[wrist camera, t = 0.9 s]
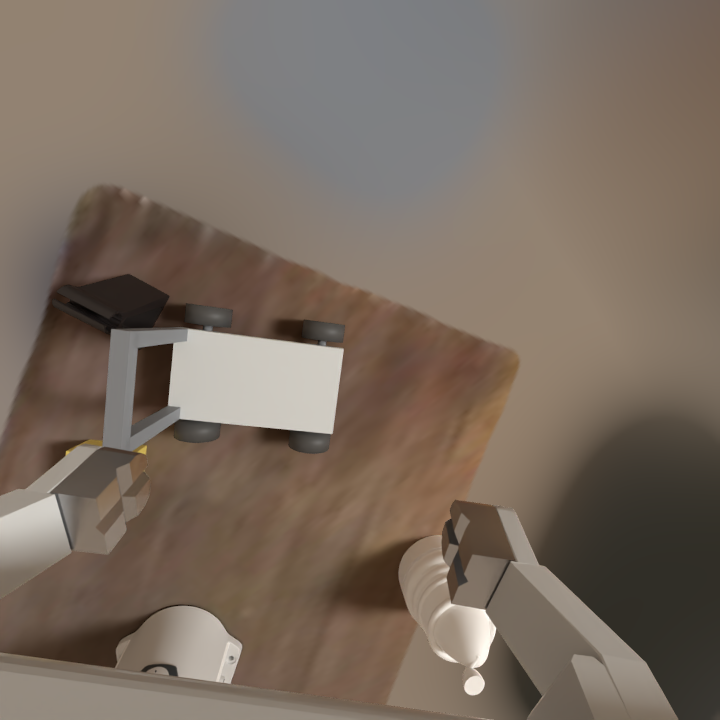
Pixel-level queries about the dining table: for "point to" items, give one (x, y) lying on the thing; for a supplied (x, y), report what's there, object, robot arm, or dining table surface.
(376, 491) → the dining table surface
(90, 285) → the phone stand
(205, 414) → the flatbed trolley
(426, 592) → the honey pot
